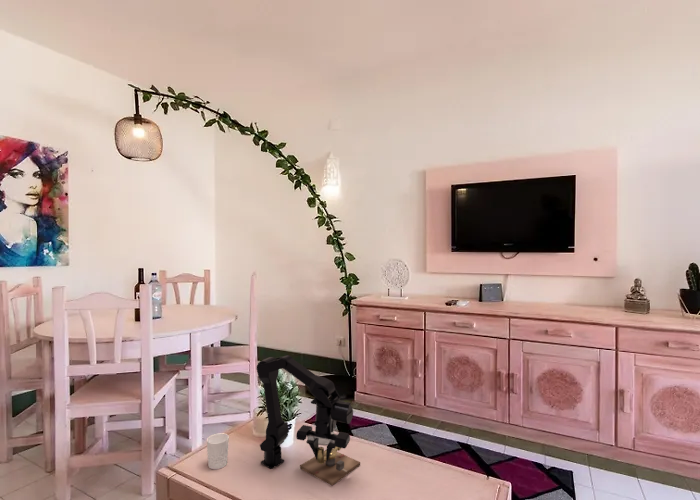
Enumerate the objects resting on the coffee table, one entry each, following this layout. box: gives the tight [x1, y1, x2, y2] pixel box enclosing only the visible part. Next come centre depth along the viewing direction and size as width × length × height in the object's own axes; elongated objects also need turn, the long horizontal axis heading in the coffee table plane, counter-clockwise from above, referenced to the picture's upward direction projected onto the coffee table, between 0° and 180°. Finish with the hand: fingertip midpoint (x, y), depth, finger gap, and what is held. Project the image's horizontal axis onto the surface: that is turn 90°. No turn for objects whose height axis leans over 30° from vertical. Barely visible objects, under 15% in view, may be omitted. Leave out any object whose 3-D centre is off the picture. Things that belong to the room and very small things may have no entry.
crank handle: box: [317, 446, 342, 464], centre depth 141 cm, size 4×14×6 cm, turn 150°
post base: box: [299, 448, 361, 487], centre depth 141 cm, size 16×16×4 cm
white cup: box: [206, 432, 230, 470], centre depth 143 cm, size 8×8×10 cm
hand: (322, 459), depth 136 cm, fingers open, 4 cm apart
